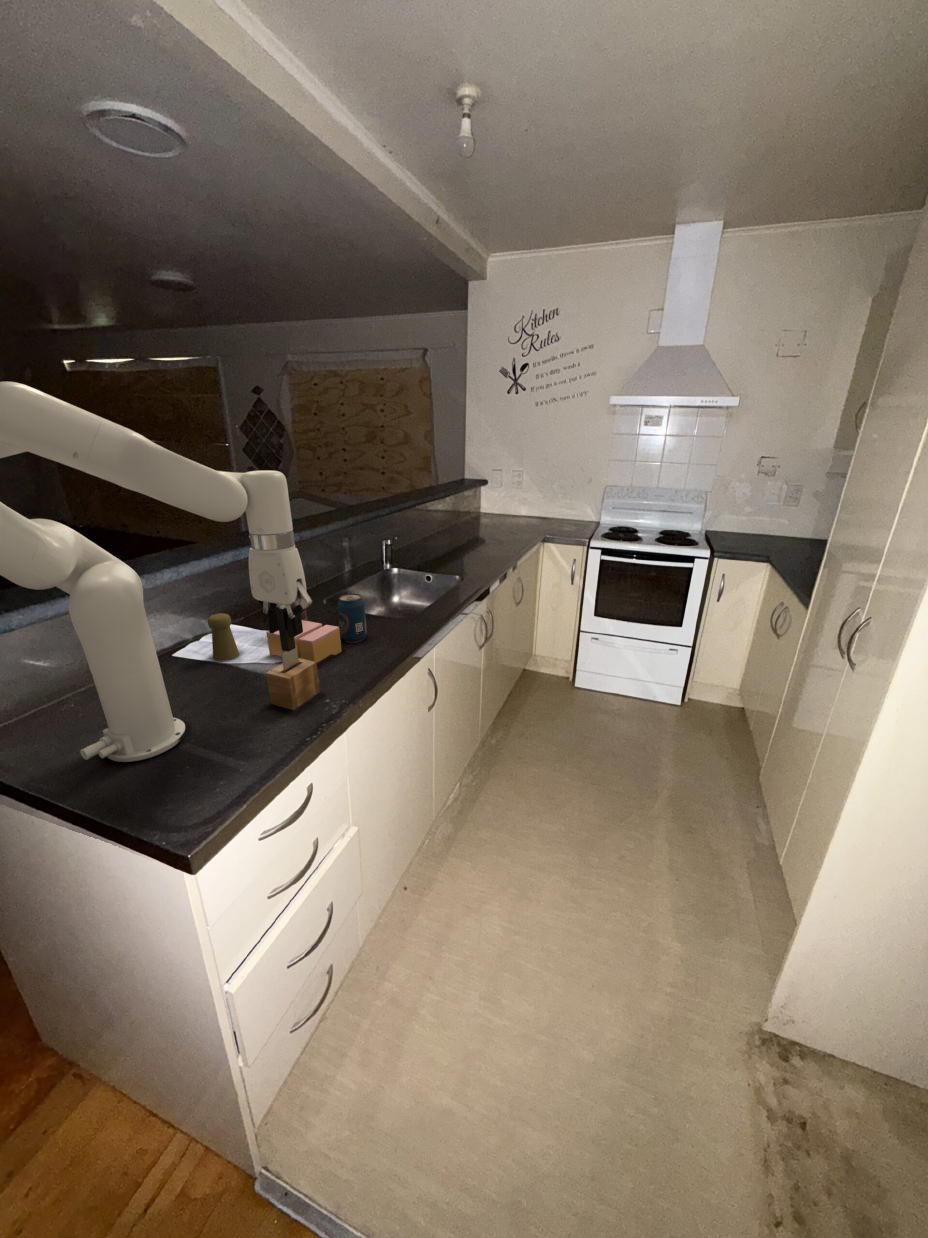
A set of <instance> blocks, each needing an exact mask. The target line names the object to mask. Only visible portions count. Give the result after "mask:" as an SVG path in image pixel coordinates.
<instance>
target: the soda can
mask: <svg viewBox="0 0 928 1238" xmlns="http://www.w3.org/2000/svg"><path fill="white" fill-rule="evenodd" d="M337 611H338V622H339V631H340V638H341V639H342V640H343V641H344V642H345V643H348V644H356V643H360V642H363V641H364V640H365V639H366V637H367V635H368V631H367V630H368V629H367V619H366V606H365V601H364V599H363V598H362V595H361V594H358V593H346V594H342V595H340V596H339V598H338V602H337Z"/></svg>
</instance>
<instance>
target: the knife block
mask: <svg viewBox="0 0 928 1238" xmlns="http://www.w3.org/2000/svg"><path fill="white" fill-rule="evenodd" d="M298 660H299V665H298V666H296V667H295V668H293V669H291V670H289V671H288V672H286V673H284V669H283V662H281V663H280V664H278V665H277V666H275V667H274V668H272V669H269V670H268V671H266V672H265V677H266V683H267V689H268V690H267V691H268V695H269V702H270V704H271V705H274V706H277V707H280V708H284V709H288V710H291V711H295V710H296V709H297V708H299V707H300V706H302V705H303V704H304V703H306V702H307V701H309V700H311V699H312V698H314V697H315V696H317V695H318V694H319V693H321V686H320V679H319V678H320V677H319V670H318V663H316V662H314V661H310V660H305V659H302V658H298Z"/></svg>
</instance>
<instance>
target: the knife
mask: <svg viewBox="0 0 928 1238" xmlns="http://www.w3.org/2000/svg"><path fill="white" fill-rule="evenodd" d="M276 615H277V621H278V628H279V634H280V641H281V647H282V650H283V651H284V652H282V653H281V656H280V657H281V663H283V669H284V673H286V672H288V671H289V670H291V669H293V668H295V667H296V666H298V665H299V660H298V653H297V646H296V645H295V639H294V637H293V638H292V637H290V636H289V631H288V625H287V618H289V615H288V612H287V609H286V606H285V605H281V606H279V607H276Z"/></svg>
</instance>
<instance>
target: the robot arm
mask: <svg viewBox="0 0 928 1238" xmlns="http://www.w3.org/2000/svg"><path fill="white" fill-rule="evenodd" d="M27 452H28V453H31V454H34V455H37V456H39V457H42V458H45V459H47V460H51V461H54V462H57V463H60V464H61V465H64V466H66V467H67V466H68V467H70V468H72V469H75V470H77V471H78V470H79V471H81V472H83V473H86V474H88V475H91V476H94V477H97V478H99V479H101V480H104V481H107V482H110V483H112V484H115V485H117V486H119V487H122V488H123V489H127V490H130V491H133V492H137V493H140V494H141V495H145V496H147V497H150V498H152V499H155V500H157V501H160V502H162V503H165V504H167V505H170V506H172V507H175V508H177V509H181V510H184V511H186V512H190V513H192V514H194V515H197V516H200V517H202V518H206V519H208V520H211V521H215V522H219V523H228V522H233V521H235V520H237V519H238V518H240V517H242V515H244V513H245V515H246V522H247V527H248V538H249V540H250V548H249V550H248V576H249V584H250V585H249V586H250V591H251V596H252V597H253V598H254V600H256V601H257V602H258V604H259V605H260V606H261V607H262V611H263V613H264V614H266V620H267V625H268V631H269V632H270V633H275V632H277V631H279V628H278V621H277V615H276V607H278V604H282V605H285V606H286V609H287V612H288V615H289V618H287V625H288V631H289V636H290V637H292V638H293V637H295V636H297V635H299V634H301V633H302V632H303V626H302V619H301V614H303V611H304V610H305V609H306V610H307V608H308V607H310V606H311V605H313V600H312V598H311V596H310V595H309V594H308V592H307V583H306V576H305V571H304V567H303V563H302V559H301V556H300V553H299V550H298V548H297V547H296V542H295V541H296V540H295V533H294V527H293V519H292V512H291V511H292V510H291V503H290V497H289V488H288V483H287V481H288V480H287V478H286V475H285V474H284V473H283V472H281V471H278V470H252V471H251V470H250V471H246V472H234V471H223V470H217V469H216V470H215V469H213V468H211V467H210V466H209V467H208V466H206V465H204V464H202V463H199V462H197V461H195V460H192V459H189V458H187V457H185V456H183V455H181V454H178V453H176V452H174V451H171V450H169V449H167V448H165V447H164V446H161V445H159V444H157V443H155V442H154V441H152V440H150V439H149V438H147V437H145V436H144V435H142V434H140V433H139V432H136V431H134V430H132V429H130V428H128V427H125V426H123V425H121V424H118V423H116V422H113V421H112V420H109V419H106V418H104V417H101V416H99V415H97V414H95V413H92V412H90V411H87V410H86V409H83V408H81V407H78V406H77V405H74V404H72V403H69V402H67V401H64V400H62V399H60V398H57V397H55V396H53V395H50V394H48V393H45V392H43V391H41V390H40V389H37V388H34V387H31V386H29V385H27V384H24V383H19V382H16V381H0V459H3V458H7V457H10V456H11V457H12V456H15V455H19V454H22V453H27ZM0 576H1V577H3V578H4V579H6V580H8V581H10V582H11V583H14V584H15V585H18V586H20V587H22V588H26V589H31V590H37V591H38V590H48V589H53V588H55V587H56V588H57V589H60V590H61V591H62V592H64V593H67V594H68V595H69V598H68V613H69V618H70V621H71V624H72V626H73V628H74V629H73V630H74V631H75V634H76V635H77V638H78V640H79V642H80V645H81V647H82V649H83V652H84V655H85V659H86V661H87V664H88V667H89V671H90V674H91V676H92V679H93V683H94V686H95V689H96V692H97V695H98V699H99V702H100V705H101V708H102V711H103V715H104V717H105V720H106V724H107V727H106V728H104V729H102V734H103V736H102V737H100V738H99V739H98V741H97V742H95V743H91V744H90V745H87V746H86V747H84V748H81V749H80V750H79V753H80V756H81V757H82V759H84V761H85V760H86V761H87V760H89V759H92V758H93V757H96V756H97V755H98V756H99V757H100V758H101V759H104V758H107V759H109V760H111V761H113V762H121V763H128V762H130V763H131V762H138V761H143V760H147V759H150V758H153V757H156V756H159V755H160V754H163V753H165V752H167V751H168V750H170V749H172V748H173V747H175V746H177V745H178V744H179V743H180V742H181V741H182V739H180V738H181V737H182V736H183V735H184V733H185V731H186V724H185V722H184V721H183V720H181V719H180V718H177V717H173V713H172V709H171V704H170V700H169V697H168V692H167V689H166V685H165V681H164V677H163V673H162V668H161V666H160V662H159V657H158V654H157V649H156V646H155V643H154V639H153V635H152V632H151V628H150V624H149V621H148V618H147V614H146V609H145V601H144V586H143V582H142V579H141V576H139V574H138V573H137V572H136V571H135V570H134V569H133V568H132V567H131V566H129V565H128V564H126V562H124V561H122V560H121V559H120V558H117V556H115V555H113V554H112V553H110V552H109V551H107V550H105V549H104V548H102V547H101V546H99V545H98V544H97V543H95V542H94V541H92V540H90V539H88V538H87V537H86V536H84V535H83V534H81V533H80V532H78V531H76V530H75V529H73V528H71V527H70V526H67V525H66V524H63V523H61V522H58V521H55V520H52V519H47V518H31V519H30V518H27V517H26V516H24V515H22V514H20V513H19V512H17V511H16V510H14V509H13V508H11V507H9V506H7V505H6V504H4V503H3V502H2V501H0ZM300 600H301V602H300ZM292 604H295V608H294V609H293V606H292Z"/></svg>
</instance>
